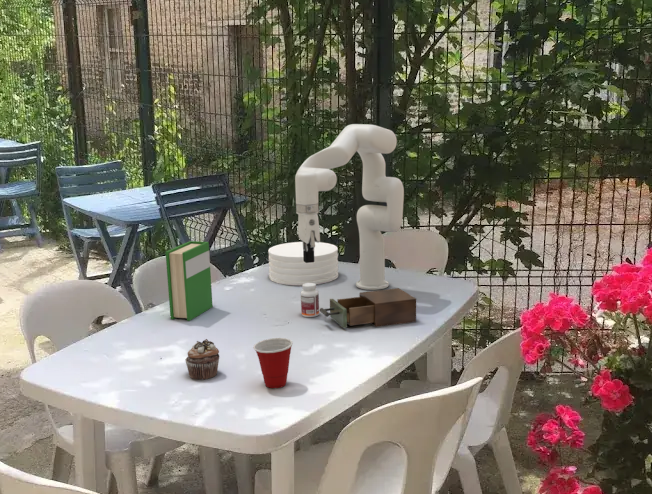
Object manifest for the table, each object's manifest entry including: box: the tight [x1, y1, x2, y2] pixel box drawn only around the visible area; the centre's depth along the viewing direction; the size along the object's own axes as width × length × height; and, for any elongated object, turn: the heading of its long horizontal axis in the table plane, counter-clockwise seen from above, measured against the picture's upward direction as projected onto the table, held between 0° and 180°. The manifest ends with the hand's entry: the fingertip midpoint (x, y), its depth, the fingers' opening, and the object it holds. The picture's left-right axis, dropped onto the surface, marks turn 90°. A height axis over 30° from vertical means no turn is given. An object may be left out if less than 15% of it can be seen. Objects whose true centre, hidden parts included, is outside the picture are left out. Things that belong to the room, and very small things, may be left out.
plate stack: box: [268, 241, 339, 286], centre depth 348 cm, size 28×28×12 cm
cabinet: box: [358, 287, 417, 328], centre depth 290 cm, size 15×15×8 cm
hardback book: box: [165, 240, 214, 322], centre depth 301 cm, size 18×7×24 cm, turn 159°
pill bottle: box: [300, 283, 320, 318], centre depth 296 cm, size 6×6×11 cm
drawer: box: [319, 296, 375, 329], centre depth 286 cm, size 18×13×6 cm
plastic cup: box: [252, 337, 294, 389], centre depth 234 cm, size 11×11×12 cm
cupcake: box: [184, 338, 220, 381], centre depth 243 cm, size 10×10×10 cm
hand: (308, 261), depth 292 cm, fingers closed
